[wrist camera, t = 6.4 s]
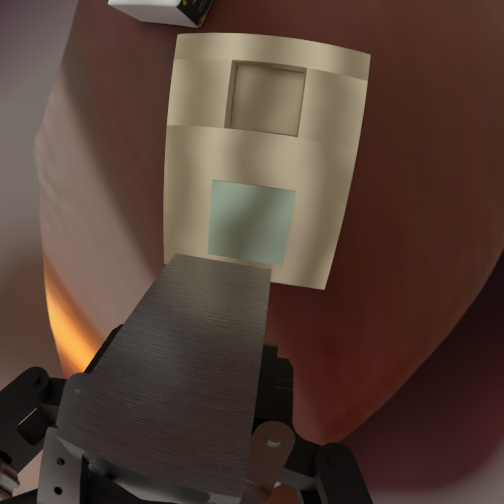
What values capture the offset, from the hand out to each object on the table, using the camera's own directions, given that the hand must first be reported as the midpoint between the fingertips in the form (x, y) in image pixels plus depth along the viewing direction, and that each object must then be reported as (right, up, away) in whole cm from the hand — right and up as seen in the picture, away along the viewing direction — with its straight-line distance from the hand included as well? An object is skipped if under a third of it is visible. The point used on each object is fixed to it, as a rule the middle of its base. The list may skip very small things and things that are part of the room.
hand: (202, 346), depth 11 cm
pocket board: (+3, +13, +15) cm, 20 cm away
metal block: (0, +1, +3) cm, 3 cm away
